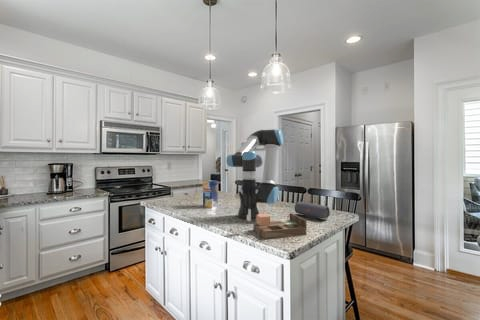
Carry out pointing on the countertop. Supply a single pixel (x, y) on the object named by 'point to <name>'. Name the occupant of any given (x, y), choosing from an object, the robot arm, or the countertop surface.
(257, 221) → the block
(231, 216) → the countertop surface
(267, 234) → the box
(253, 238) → the countertop surface
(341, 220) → the countertop surface
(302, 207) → the bluetooth speaker
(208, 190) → the beverage box
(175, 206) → the countertop surface
